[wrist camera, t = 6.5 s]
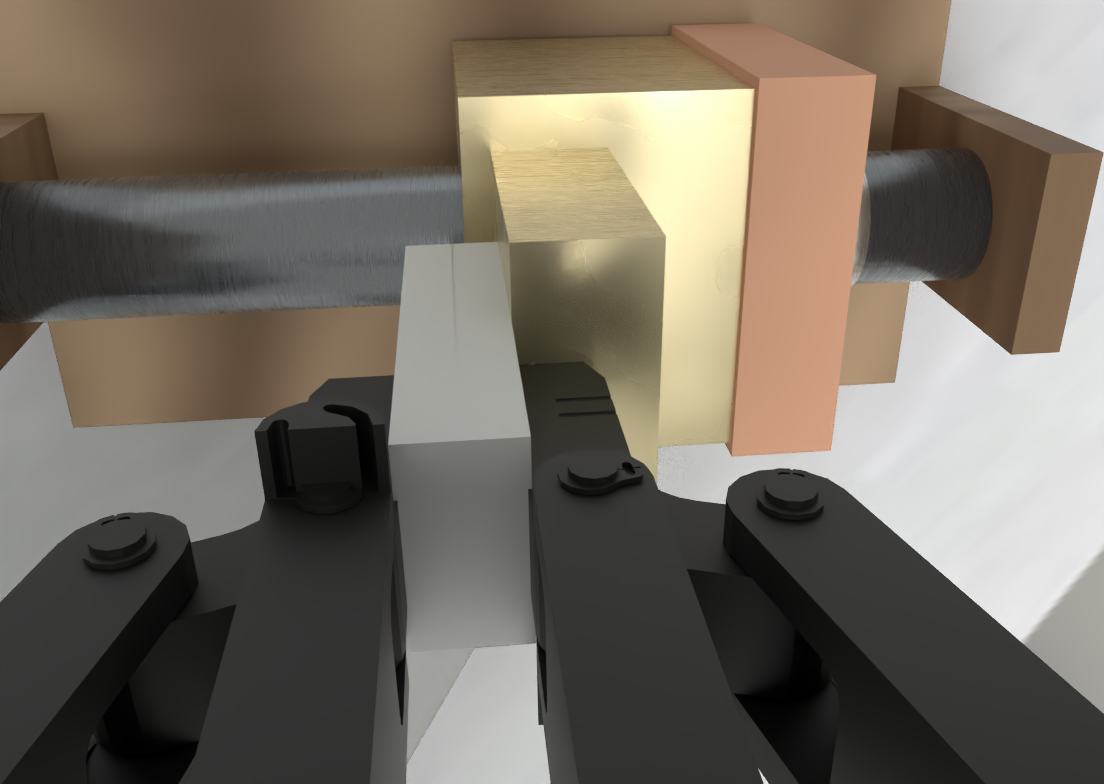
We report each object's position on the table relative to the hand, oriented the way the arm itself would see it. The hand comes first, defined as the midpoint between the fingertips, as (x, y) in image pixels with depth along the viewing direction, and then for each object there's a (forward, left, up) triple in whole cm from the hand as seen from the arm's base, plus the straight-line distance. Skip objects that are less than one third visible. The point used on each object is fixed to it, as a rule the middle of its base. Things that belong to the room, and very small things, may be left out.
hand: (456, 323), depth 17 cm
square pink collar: (+6, 0, -9) cm, 11 cm away
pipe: (+1, 0, -7) cm, 7 cm away
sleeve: (+3, 0, -8) cm, 9 cm away
